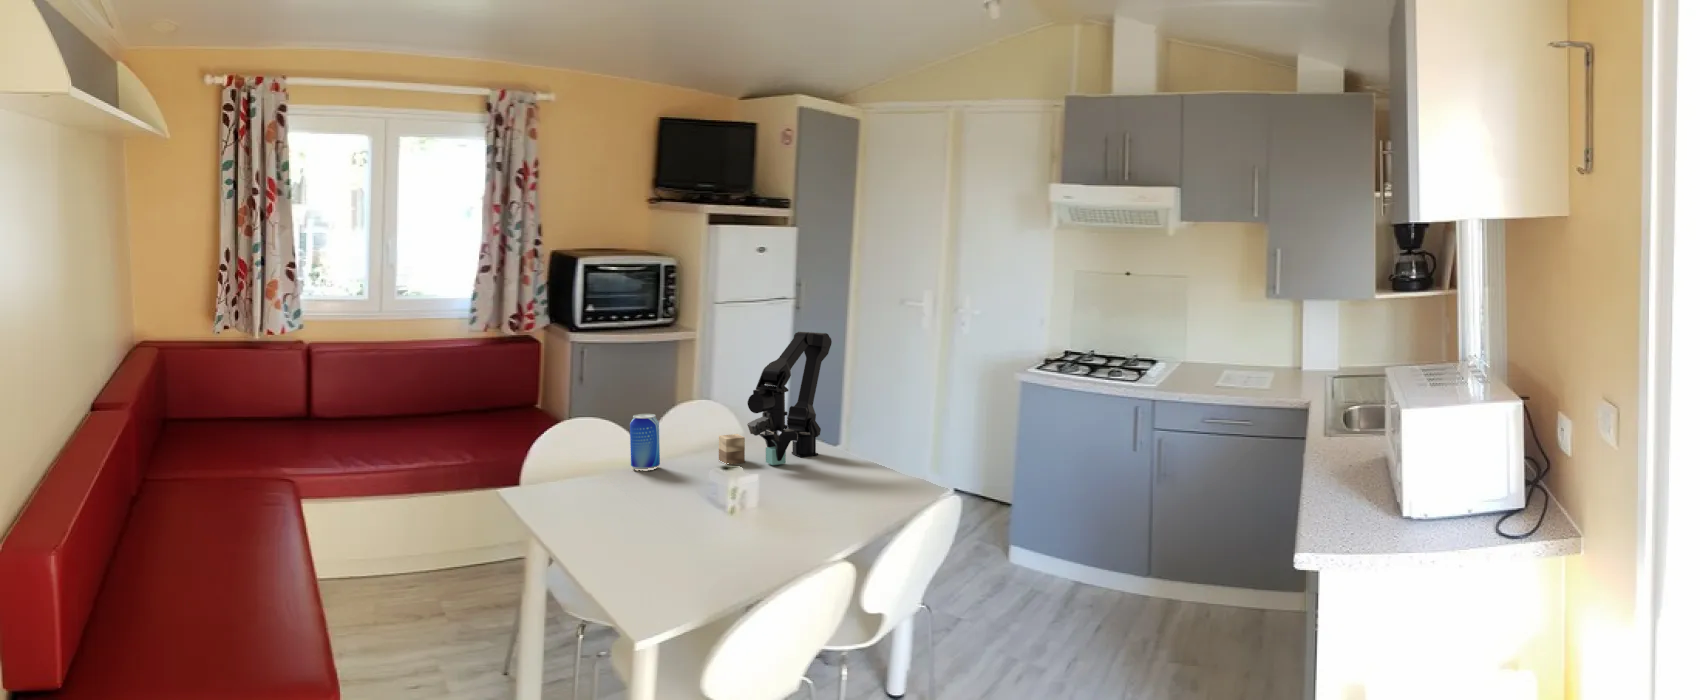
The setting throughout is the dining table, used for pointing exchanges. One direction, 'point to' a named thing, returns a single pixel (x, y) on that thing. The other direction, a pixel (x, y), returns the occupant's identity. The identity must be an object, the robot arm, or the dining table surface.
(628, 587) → the dining table surface
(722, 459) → the tower base
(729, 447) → the tower top
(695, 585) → the dining table surface
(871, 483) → the dining table surface
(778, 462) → the teal cube
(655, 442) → the beer can
